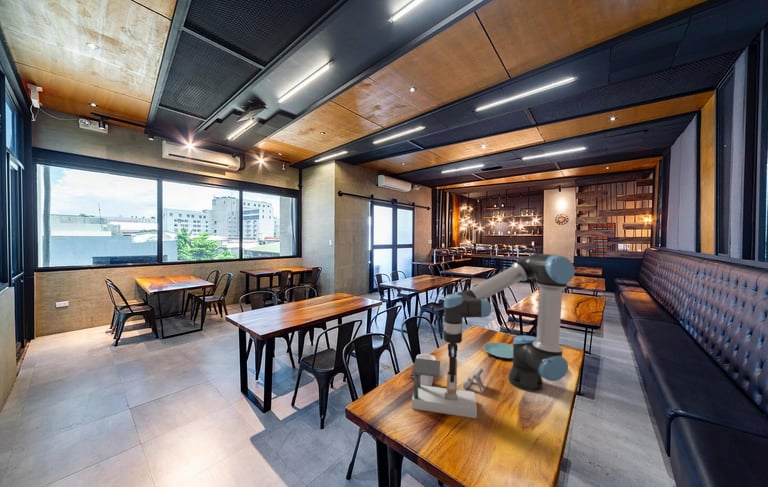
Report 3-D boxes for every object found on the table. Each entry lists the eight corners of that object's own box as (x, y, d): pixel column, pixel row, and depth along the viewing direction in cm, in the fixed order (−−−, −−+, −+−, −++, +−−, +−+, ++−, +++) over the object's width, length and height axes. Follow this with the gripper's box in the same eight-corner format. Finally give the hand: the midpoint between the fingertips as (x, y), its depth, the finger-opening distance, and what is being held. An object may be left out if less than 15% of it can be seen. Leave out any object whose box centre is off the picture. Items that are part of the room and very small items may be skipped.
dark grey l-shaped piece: (439, 387, 127) (440, 360, 127) (438, 403, 114) (438, 374, 114) (415, 383, 129) (415, 358, 129) (411, 399, 117) (412, 371, 116)
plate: (528, 362, 162) (529, 357, 162) (490, 361, 163) (490, 356, 163) (512, 346, 185) (512, 342, 185) (478, 346, 185) (478, 342, 185)
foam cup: (435, 390, 131) (435, 363, 131) (415, 388, 133) (415, 361, 133) (435, 380, 141) (435, 354, 140) (417, 378, 142) (417, 353, 142)
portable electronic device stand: (469, 381, 140) (469, 364, 140) (485, 386, 136) (485, 369, 136) (463, 388, 133) (463, 371, 133) (479, 394, 129) (480, 376, 128)
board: (474, 401, 123) (474, 392, 123) (476, 418, 111) (476, 408, 111) (415, 392, 129) (415, 384, 129) (411, 408, 117) (411, 399, 117)
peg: (456, 390, 121) (457, 358, 120) (456, 395, 117) (457, 362, 116) (446, 388, 122) (447, 356, 121) (446, 393, 118) (447, 360, 117)
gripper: (444, 324, 128) (443, 375, 128) (443, 337, 111) (442, 395, 112) (461, 326, 126) (460, 377, 127) (462, 339, 109) (461, 398, 110)
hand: (451, 385), depth 119 cm, fingers closed on peg, 4 cm apart
